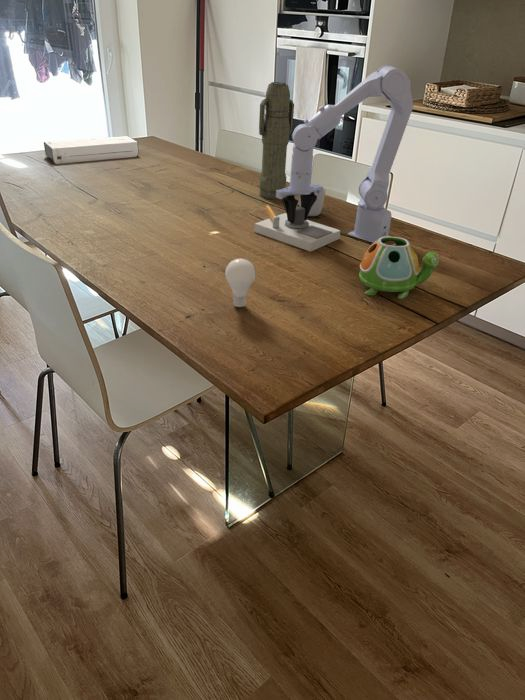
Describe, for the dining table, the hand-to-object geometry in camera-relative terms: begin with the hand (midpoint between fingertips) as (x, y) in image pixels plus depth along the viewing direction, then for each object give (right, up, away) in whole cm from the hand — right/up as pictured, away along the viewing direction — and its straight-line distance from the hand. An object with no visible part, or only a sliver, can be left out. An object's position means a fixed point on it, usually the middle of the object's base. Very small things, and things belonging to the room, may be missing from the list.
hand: (297, 220), depth 160 cm
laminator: (-77, +39, +64) cm, 108 cm away
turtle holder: (+21, -22, -26) cm, 40 cm away
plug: (0, -3, +2) cm, 4 cm away
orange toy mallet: (-7, +1, +3) cm, 8 cm away
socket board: (0, -4, +1) cm, 4 cm away
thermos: (-7, +16, +32) cm, 36 cm away
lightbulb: (-15, -28, -38) cm, 49 cm away
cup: (+4, +6, +18) cm, 20 cm away
